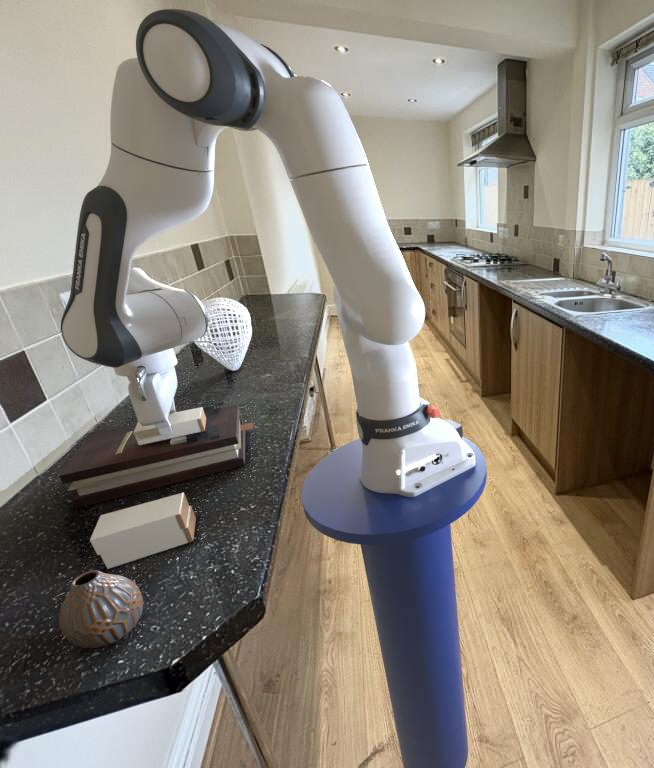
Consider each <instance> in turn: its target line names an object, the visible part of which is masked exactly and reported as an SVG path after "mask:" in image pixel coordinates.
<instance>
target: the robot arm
mask: <svg viewBox="0 0 654 768" xmlns="http://www.w3.org/2000/svg"><path fill="white" fill-rule="evenodd" d="M135 51H136V57H131V58H128V59H126V60H124V61H122V62H121V63H120V64H119V65H118V67H117V69H116V73H115V77H114V82H113V86H112V87H113V88H112V94H111V103H110V117H109V118H110V119H109V122H110V123H109V128H110V129H109V131H110V155H109V161H108V164H107V167H106V170H105V172H104V174H103V176H102V178H101V180H100V181H99V183H98V184H97V185H96V187H94V188H92V189H91V190H89V191H88V192H87V193H86V195H85V196H84V198H83V200H82V204H81V206H80V207H81V208H80V211H79V217H78V225H77V232H76V240H75V248H74V249H75V250H74V258H73V259H74V260H73V267H72V268H73V269H72V276H71V283H70V284H71V286H70V291H69V292H70V293H69V297H68V301H67V304H66V306H65V309H64V311H63V313H62V317H61V319H60V334H61V336H62V339H63V341H64V343H65V345H66V347H67V349H69V350H70V352H72V353H73V354H74V355H75V356H77V357H78V358H81V359H82V360H85V361H87V362H89V363H93V364H94V365H98V366H102V367H108V368H113V371H114V374H115V375H116V376H118V377H119V376H120V377H126V378H127V380H128V382H129V383H128V386H127V391H128V395H129V400H130V402H131V405H132V408H133V411H134V413H135V417H136V420H137V422H138V421H139V423H140V424H141V425H142V426H149V425H155V427H156V428H157V429H158V431H159V433H160V436H163V437H164V436H169V435H171V434H172V432H173V428H172V426H171V423H169V421H168V415H169V414H170V413H175V412H177V410H176V405H175V399H174V398H175V395H176V392H177V388H178V377H177V372H176V366H177V365H178V363H179V361H178V359H177V356H176V354H175V350H174V348H177V347H179V346H182V345H186V344H189V343H192V342H193V341H195V340H197V339H199V338H201V337H204V335H205V333H206V332H208V331H207V328H208V325H209V324H208V323H209V319H208V318H209V317H208V314H207V312H206V309H205V307H204V305H203V304H202V302H203V301H201V300H200V299H199V298H198V297H197V296H196V295H195V294H193V293H192V292H190V291H189V290H186V289H184V288H181V287H180V288H176V287H173V286H170V285H167V284H164V283H161V282H158V281H156V280H154V279H153V278H151V277H149V276H148V275H147V274H146V272H145V271H144V270H142V269H141V268H139V267H134V266H132V261H133V258H134V256H135V254H136V252H137V251H138V250H139V249H140V248H141V247H142V246H143V245H144V244H145V243H147V242H148V241H149V240H151V239H153V238H155V237H157V236H158V235H160V234H163V233H164V232H167V231H169V230H171V229H172V230H173V229H174V228H178V227H179V226H182V225H185V224H188V223H190V222H192V221H194V220H196V219H198V218H199V217H200V216H201V215H202V214H204V212H206V210H207V209H208V208H209V206H210V203H211V200H212V197H213V193H214V185H215V150H216V141H217V139H218V136H219V135H220V133H221V132H223V130H226V129H229V128H231V129H233V130H237V131H243V132H260V133H262V134H263V135H265V137H267V138H268V139H269V141H270V142H271V143H272V144H273V146H274V147H275V150H276V151H277V153H278V155H279V158H280V160H281V162H282V164H283V167H284V171H285V172H286V176H287V177H288V180H289V183H290V185H291V187H292V191H293V193H294V195H295V197H296V200H297V203H298V205H299V208H300V210H301V213H302V216H303V218H304V220H305V223H306V225H307V227H308V228H307V229H308V230H309V233H310V235H311V238H312V240H313V242H314V244H315V245H316V246H315V247H316V248H317V250H318V252H319V254H320V256H321V258H322V260H323V261H324V264H325V266H326V268H327V271H328V273H329V275H330V277H331V279H332V281H333V284H334V285H333V292H332V293H333V294H332V295H333V301H334V307H335V311H336V315H337V320H338V325H339V329H340V332H341V337H342V342H343V345H344V349H345V353H346V357H347V360H348V364H349V367H350V372H351V378H352V384H353V390H354V394H355V402H356V407H357V408H356V411H355V416H356V420H355V422H356V427H357V428H356V429H357V433H358V437H359V438H360V440H361V441H362V467H361V473H360V481H361V483H362V484H363V486H365V487H366V488H367V489H369V490H371V491H374V492H378V493H390V494H400V495H403V496H406V497H415V496H417V495H419V494H421V493H423V492H425V491H427V490H429V489H431V488H433V487H435V486H437V485H439V484H441V483H443V482H445V481H447V480H449V479H451V478H453V477H455V476H457V475H459V474H461V473H463V472H465V471H467V470H469V469H471V468H472V467H474V466H475V464H476V459H475V455H474V452H473V451H472V449H471V448H470V447H469V446H468V445H467V444H466V443H465V442H464V441H463V440H461V438H462V437H464V434H463V433H464V432H463V425H462V424H459V423H458V422H456V421H453V420H451V419H448V418H446V419H442V418H439V416H440V415H441V414H440V413H441V411H440V410H439V408H437V406H435V405H431V403H430V402H429V401H427V400H426V399H424V398H422V396H420V389H419V387H420V386H419V379H418V378H419V377H418V369H417V367H418V366H417V362H416V360H415V358H414V355H413V351H412V349H411V346H410V343H409V342H410V341H411V340H413V339H414V338H416V336H417V335H418V334H420V332H421V330H422V329H423V326H424V323H425V319H426V307H425V306H426V305H425V303H424V301H423V298H422V296H421V294H420V293H419V291H418V290H417V287H416V286H415V283H414V281H413V278H412V276H411V274H410V272H409V271H410V270H408V267H407V265H406V262H405V259H404V258H403V255H402V253H401V250H400V248H399V246H398V244H397V242H396V240H395V238H394V236H393V234H392V232H391V229H390V226H389V225H388V221H387V219H386V216H385V213H384V209H383V207H382V203H381V201H380V198H379V194H378V191H377V188H376V185H375V182H374V178H373V174H372V172H371V169H370V166H369V163H368V159H367V157H366V153H365V150H364V147H363V145H362V142H361V139H360V138H359V135H358V132H357V130H356V127H355V125H354V123H353V120H352V119H351V117H350V114H349V112H348V110H347V108H346V106H345V104H344V102H343V101H342V98H341V97H340V94H339V93H338V92H337V91H336V89H335V88H334V87H332V86H331V84H330V83H327V82H326V81H324V80H322V79H319V78H317V77H312V76H308V75H296V74H295V72H294V71H293V70H292V68H291V67H290V65H289V64H288V63H287V62H286V61H285V60H284V59H283V57H281V56H280V55H279V54H278V53H276V51H274V50H273V49H271V48H270V47H269V46H267V45H265V44H262V43H259V42H258V41H256V40H255V39H253V38H251V37H249V36H248V35H247V34H245V33H243V32H242V31H240V29H239V30H238V29H237V28H235V27H232V26H230V25H227V24H225V23H222V22H220V21H217V20H213V19H210V18H208V17H206V16H203V14H200V13H198V12H195V11H191V10H186V9H179V8H164V9H158V10H155V11H152V12H151V13H149V14H148V15H147V16H145V17H144V18H143V20H142V21H141V22H140V24H139V26H138V28H137V31H136V37H135ZM205 336H206V335H205ZM193 343H194V342H193ZM359 438H358V439H359Z"/></svg>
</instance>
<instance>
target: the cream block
mask: <svg viewBox="0 0 654 768" xmlns="http://www.w3.org/2000/svg"><path fill="white" fill-rule="evenodd" d="M168 421H169V423H171V426H172V428H173V432H172V434H171V435H169V436H164V437H163V436H160V433H159V431H158V429H157V428H156V427H155V425H149V426H142V425H141V424H140V423H139V421H138V420H137V423H136V424H137V425H136V428H135V430H134V432H133V433H134V435H135V438H136V440H137V442H138V445H143V444H147V443H152V442H157V441H161V440H166V439H170V438H175V437H179V436H184V435H188V434H193V433H197V432H202V431H205V425H206V416H205V413H204V408H203V407H202V406H201V407H196V408H191V409H185V410H181V411H176V412H175V413H170V414H169V415H168Z"/></svg>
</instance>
